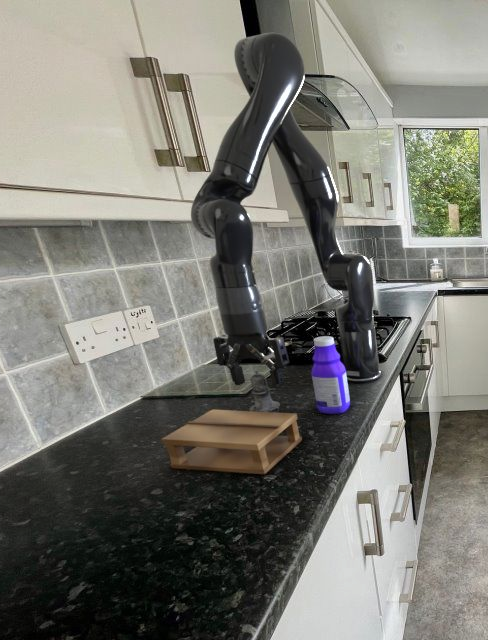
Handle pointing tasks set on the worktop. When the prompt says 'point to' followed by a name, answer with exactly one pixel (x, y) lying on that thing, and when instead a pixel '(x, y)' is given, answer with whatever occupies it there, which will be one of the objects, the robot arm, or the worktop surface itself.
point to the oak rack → (233, 441)
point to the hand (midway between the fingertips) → (258, 384)
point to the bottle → (329, 378)
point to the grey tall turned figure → (262, 395)
